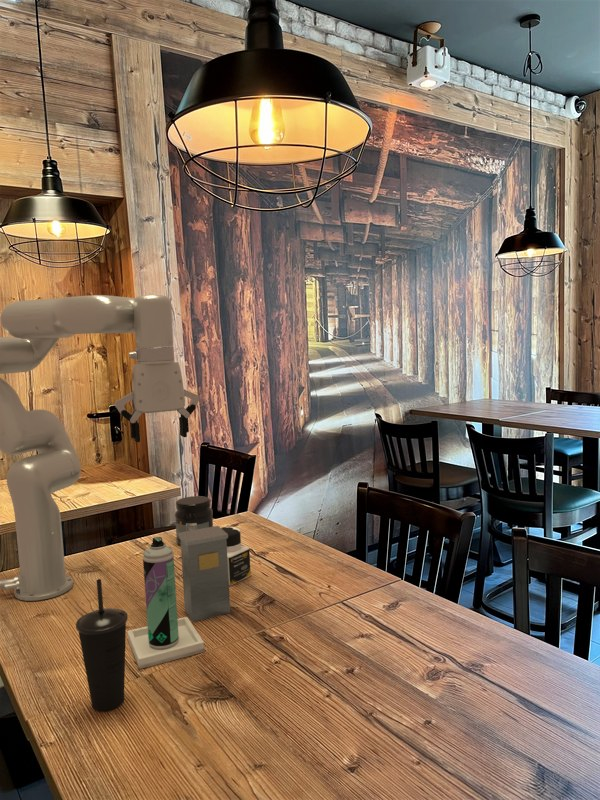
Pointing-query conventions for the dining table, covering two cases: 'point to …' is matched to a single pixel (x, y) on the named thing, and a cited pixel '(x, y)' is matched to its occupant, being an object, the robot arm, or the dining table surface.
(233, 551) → the medicine bottle
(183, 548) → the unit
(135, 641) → the dish
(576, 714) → the dining table surface
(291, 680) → the dining table surface
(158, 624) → the spray can
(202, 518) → the supplement container
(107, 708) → the drinking cup
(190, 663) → the dining table surface
